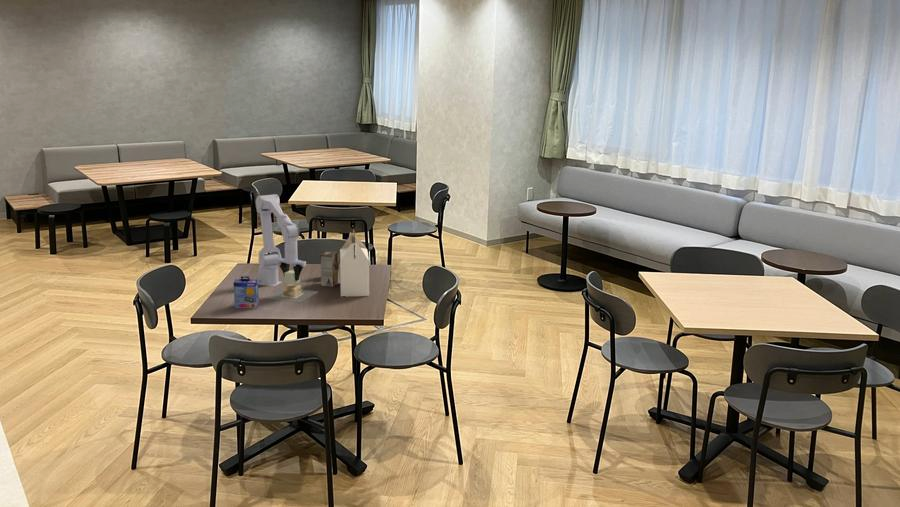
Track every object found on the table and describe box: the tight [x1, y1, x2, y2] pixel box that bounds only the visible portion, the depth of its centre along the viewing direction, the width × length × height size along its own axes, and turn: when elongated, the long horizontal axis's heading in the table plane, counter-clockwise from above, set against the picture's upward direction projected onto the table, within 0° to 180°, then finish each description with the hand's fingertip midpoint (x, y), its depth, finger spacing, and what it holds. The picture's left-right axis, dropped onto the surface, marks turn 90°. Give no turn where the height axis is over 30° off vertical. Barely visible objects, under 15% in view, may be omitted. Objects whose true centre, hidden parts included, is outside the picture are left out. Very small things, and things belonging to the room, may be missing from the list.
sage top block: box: [283, 269, 301, 285], centre depth 344 cm, size 5×5×5 cm
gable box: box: [339, 229, 370, 297], centre depth 355 cm, size 22×13×28 cm, turn 8°
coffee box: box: [319, 250, 340, 288], centre depth 363 cm, size 9×6×16 cm
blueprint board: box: [265, 288, 319, 304], centre depth 346 cm, size 18×18×1 cm
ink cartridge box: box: [233, 275, 260, 309], centre depth 328 cm, size 10×6×14 cm, turn 95°
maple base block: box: [282, 284, 302, 297], centre depth 345 cm, size 6×6×4 cm
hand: (292, 279), depth 344 cm, fingers closed on sage top block, 5 cm apart
